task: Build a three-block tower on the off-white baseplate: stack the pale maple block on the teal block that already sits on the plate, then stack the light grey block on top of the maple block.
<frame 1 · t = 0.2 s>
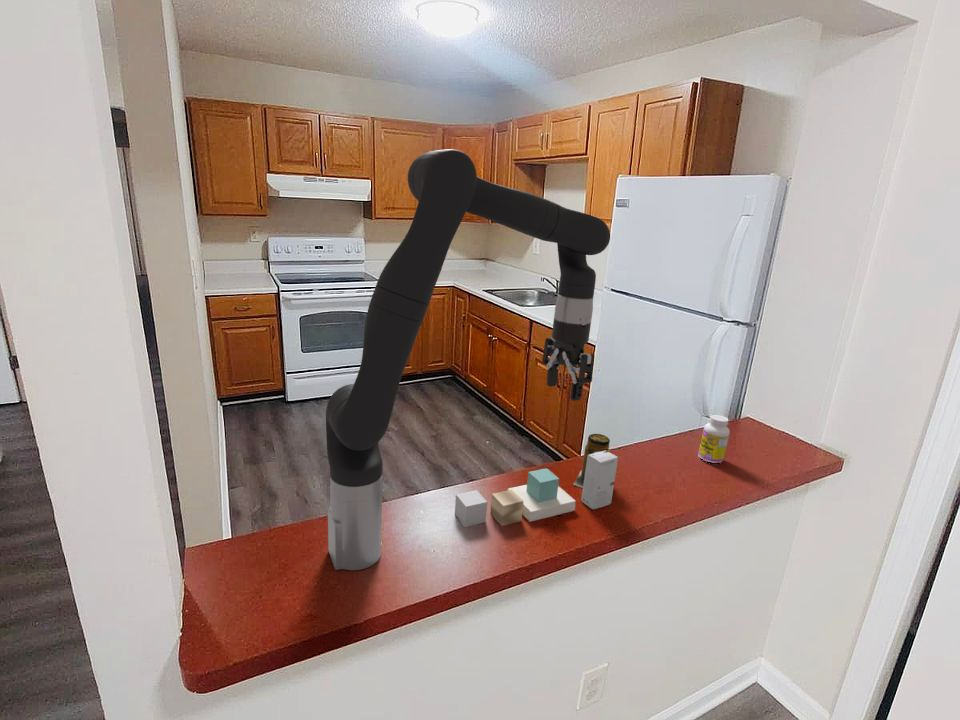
hand: (562, 392, 112), 28 cm above the worktop, tool pointing down, fingers open, 8 cm apart
maple block: (505, 517, 115), on the worktop
baseplate: (540, 504, 121), on the worktop
condiment: (591, 482, 133), on the worktop
skincare box: (595, 503, 124), on the worktop
teal block: (541, 494, 120), point 2 cm above the worktop, touching baseplate
grey block: (470, 518, 114), on the worktop
supplement bottle: (710, 460, 150), on the worktop
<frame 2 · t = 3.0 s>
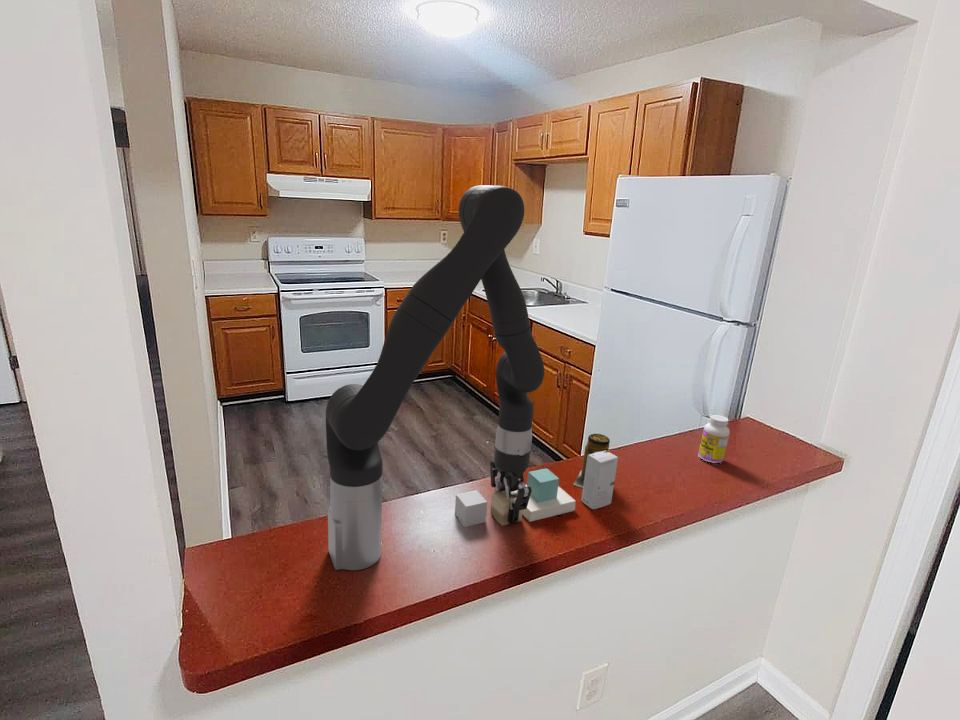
hand: (506, 514, 115), 0 cm above the worktop, tool pointing down, fingers closed on maple block, 5 cm apart
maple block: (505, 516, 115), on the worktop, touching gripper
everything else where it was.
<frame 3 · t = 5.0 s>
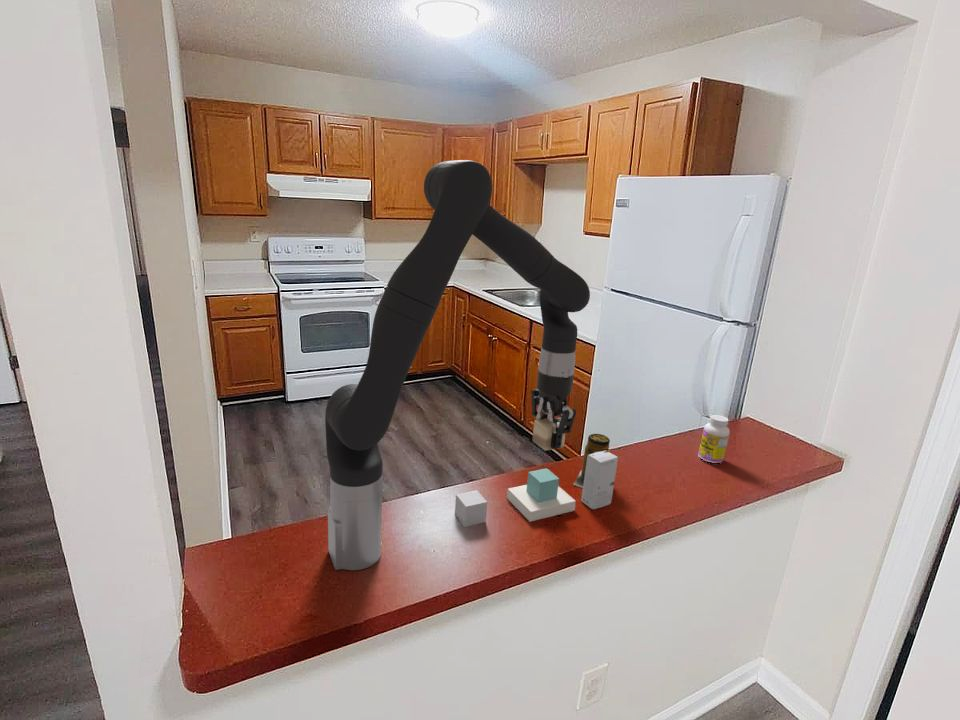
hand: (548, 441, 116), 16 cm above the worktop, tool pointing down, fingers closed on maple block, 5 cm apart
maple block: (547, 444, 117), point 15 cm above the worktop, touching gripper
everything else where it was.
when the fingers open (9 cm above the worktop, at t = 7.0 s): maple block stays where it is, resting on teal block.
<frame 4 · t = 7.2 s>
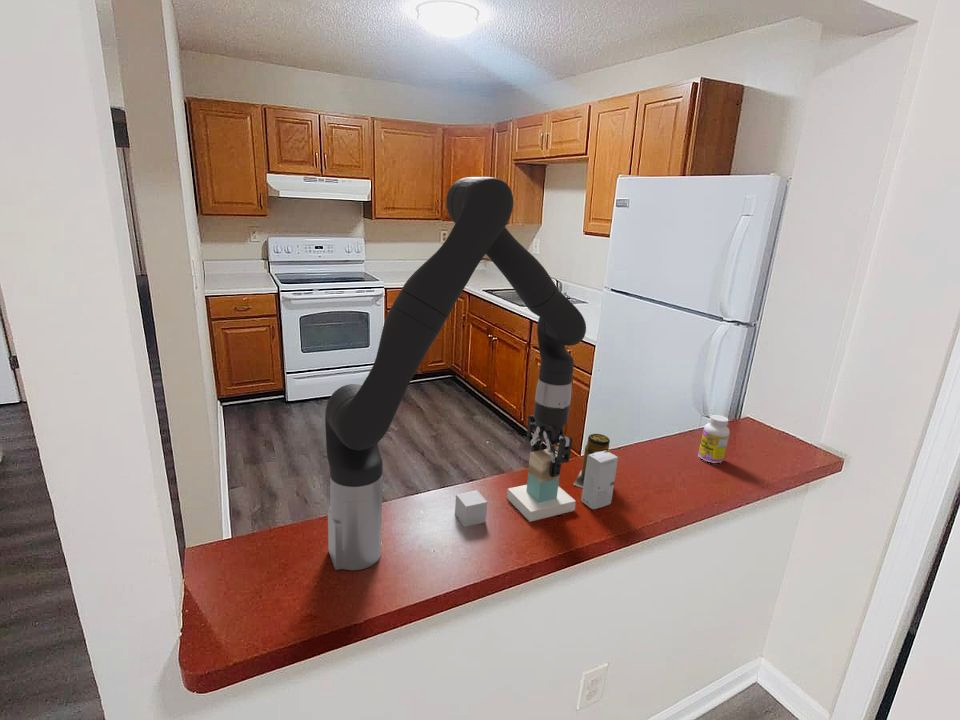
hand: (544, 468, 118), 9 cm above the worktop, tool pointing down, fingers open, 7 cm apart
maple block: (543, 475, 119), point 7 cm above the worktop, touching teal block
teal block: (541, 494, 120), point 2 cm above the worktop, touching baseplate, maple block
everything else where it was.
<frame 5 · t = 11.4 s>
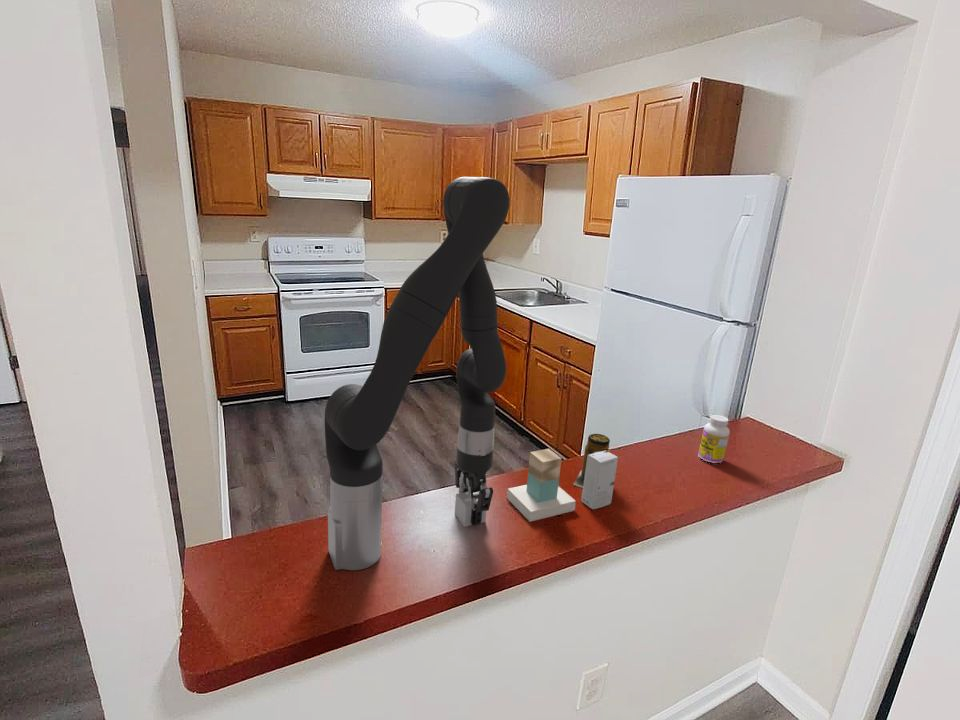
hand: (470, 516, 114), 0 cm above the worktop, tool pointing down, fingers closed on grey block, 5 cm apart
grey block: (469, 518, 114), on the worktop, touching gripper
everything else where it was.
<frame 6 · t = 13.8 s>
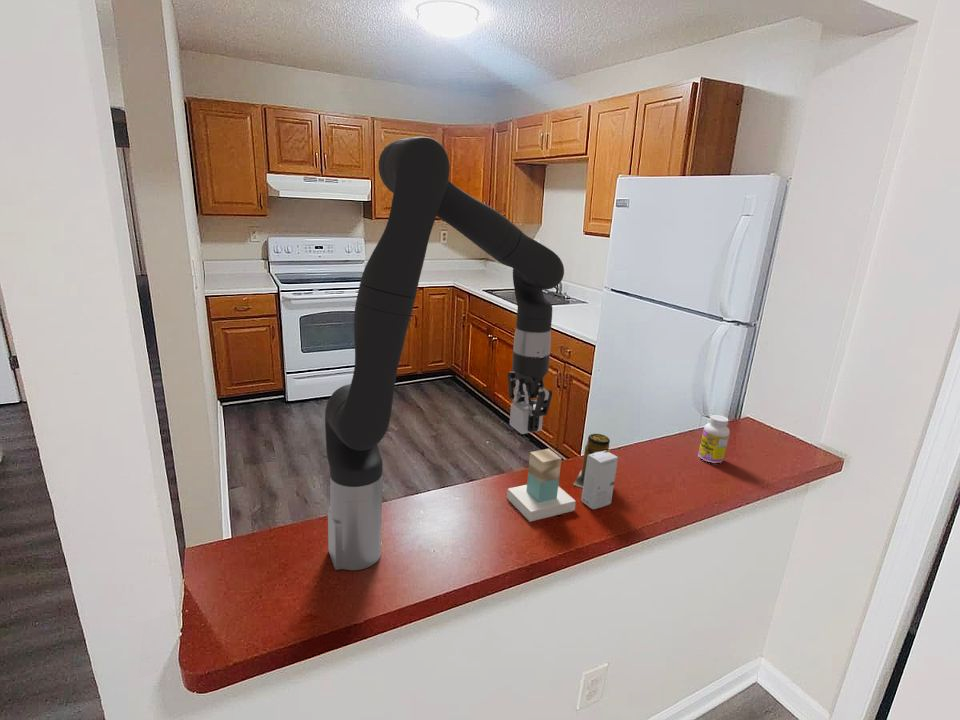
hand: (525, 425, 113), 20 cm above the worktop, tool pointing down, fingers closed on grey block, 5 cm apart
grey block: (525, 427, 113), point 20 cm above the worktop, touching gripper
everything else where it was.
when the fingers open (14 cm above the worktop, at t = 16.0 s): grey block stays where it is, resting on maple block.
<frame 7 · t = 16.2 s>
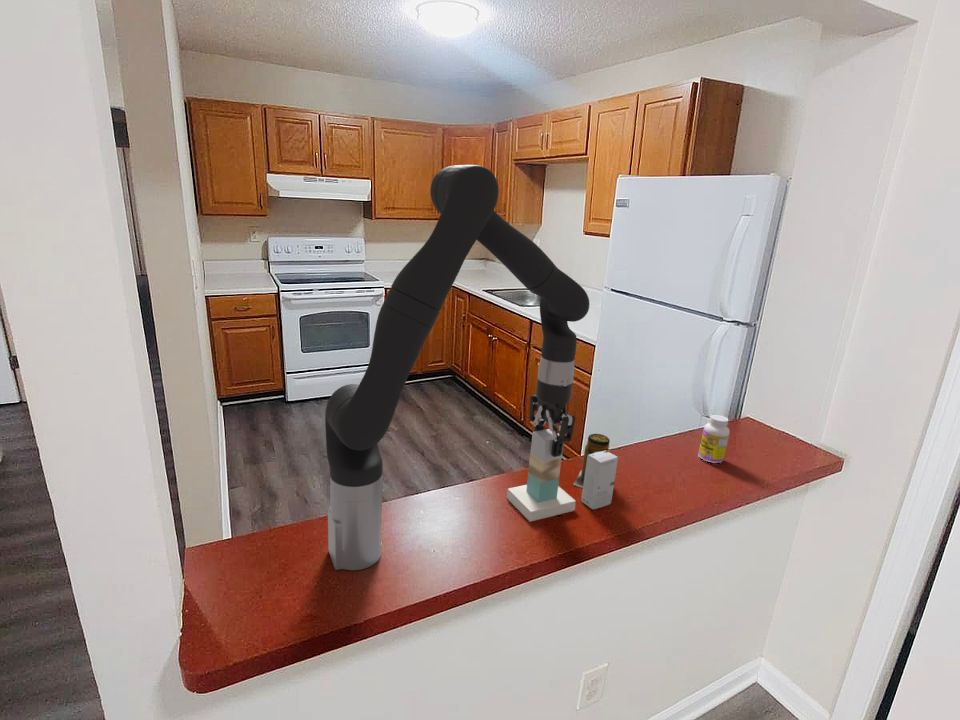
hand: (546, 448, 117), 14 cm above the worktop, tool pointing down, fingers open, 6 cm apart
maple block: (543, 475, 119), point 7 cm above the worktop, touching grey block, teal block
grey block: (546, 455, 117), point 12 cm above the worktop, touching maple block
everything else where it was.
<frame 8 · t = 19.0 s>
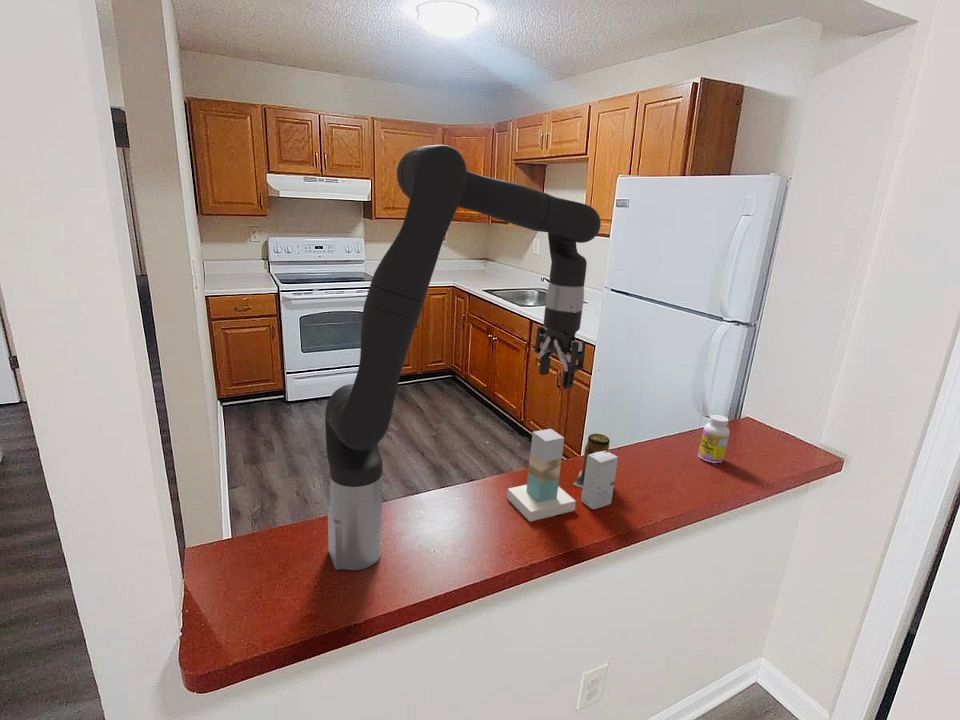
hand: (554, 380, 112), 30 cm above the worktop, tool pointing down, fingers open, 8 cm apart
nothing on the worktop moved.
at the end: maple block 0.1 cm off-centre on the teal block, point 5.0 cm above the teal block's base; grey block 0.0 cm off-centre on the maple block, point 5.0 cm above the maple block's base; grey block tilted 0° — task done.
